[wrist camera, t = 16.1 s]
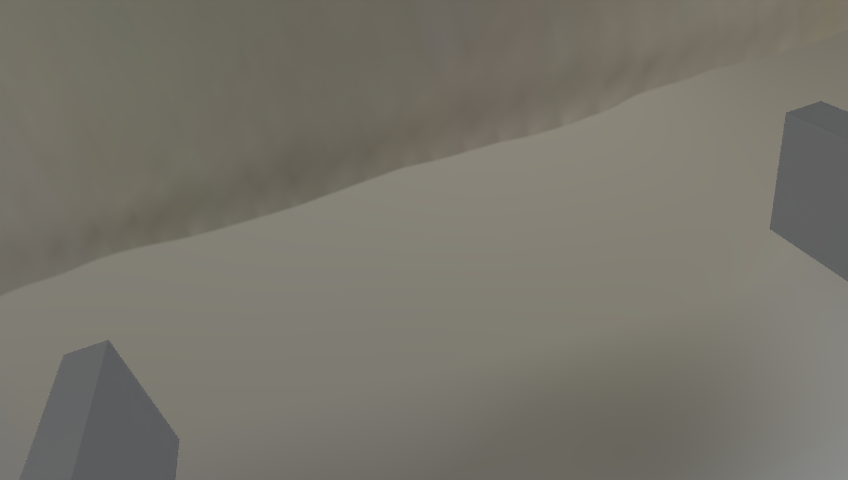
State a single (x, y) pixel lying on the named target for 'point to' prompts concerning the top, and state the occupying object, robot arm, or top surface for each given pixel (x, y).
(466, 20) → the top surface
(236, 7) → the top surface
